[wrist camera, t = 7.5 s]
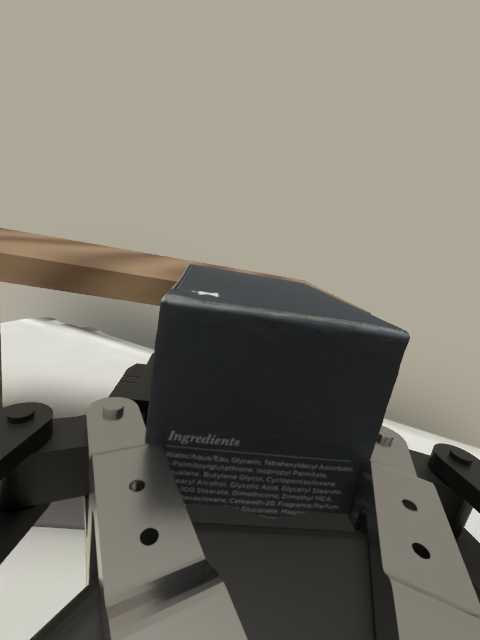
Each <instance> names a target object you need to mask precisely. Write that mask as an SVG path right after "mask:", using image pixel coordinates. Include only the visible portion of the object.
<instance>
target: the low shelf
mask: <svg viewBox="0 0 480 640" xmlns="http://www.w3.org/2000/svg"><path fill="white" fill-rule="evenodd" d="M190 264H194V265H200V266H206V267H212V268H218V269H224V270H230V271H236V272H242V273H248V274H253V275H259V276H265V277H271V278H277V279H283V280H289V281H294V282H300V283H305V284H307V285H309V286H311V287H313V288H316V289H318V290H320V291H322V292H324V293H326V294H328V295H331V296H333V297H335V298H337V299H339V300H341V301H343V302H345V303H348V304H350V305H352V306H354V307H356V308H358V309H360V310H362V311H364V312H366V313H369V312H367V311H365V310H363V309H361V308H359V307H357V306H355V305H353V304H351V303H349V302H347V301H345V300H342V299H341V298H339V297H336V296H334V295H332V294H330V293H328V292H326V291H324V290H322V289H320V288H318V287H316V286H314V285H312V284H310V283H308V282H306V281H303V280H298V279H292V278H287V277H281V276H275V275H269V274H263V273H257V272H252V271H246V270H240V269H234V268H228V267H223V266H216V265H211V264H206V263H199V262H194V261H188V260H182V259H176V258H171V257H165V256H159V255H153V254H148V253H142V252H136V251H130V250H124V249H119V248H113V247H107V246H101V245H96V244H90V243H84V242H78V241H72V240H67V239H61V238H55V237H49V236H43V235H38V234H32V233H26V232H20V231H15V230H8V229H3V228H0V281H2V282H8V283H14V284H21V285H27V286H34V287H40V288H47V289H54V290H60V291H66V292H73V293H79V294H86V295H92V296H100V297H106V298H112V299H119V300H126V301H132V302H139V303H145V304H151V305H158V306H160V304H161V299H162V298H163V297H164V296H165V295H166V294H167V293H168V292H169V291H170V290H171V289H172V288H173V287H174V285H175V284H176V283H177V282H178V280H179V279H180V278H181V276H182V275H183V273H184V272H185V270H186V266H189V265H190ZM369 314H371V313H369ZM0 409H2V373H1V335H0Z"/></svg>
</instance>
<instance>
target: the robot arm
mask: <svg viewBox="0 0 480 640" xmlns="http://www.w3.org/2000/svg"><path fill="white" fill-rule="evenodd" d="M153 359H154V353H153V354H152V355H151V357H150V359H149V361H148V363H147V365H146V364H135V365H133V366H132V367H130V368H128V369H127V370H126V372H125V373H124V375H123V377H122V378H121V379H120V381H119V382H118V384H117V385H116V387H115V388H114V390H113V391H112V393H111V394H110V396H109V397H108V398H104V399H101V400H98V401H96V402H94V403H92V404H91V405H90V406H89V407H88V408H87V411H86V415H82V416H77V417H69V418H58V419H53V411H52V409H51V407H49V406H48V405H45V404H42V403H34V402H29V403H19V404H14V405H10V406H7V407H5V408H2V409H0V564H1V563H2V562H3V561H4V559H5V558H6V557H7V556H8V555H9V554H10V552H11V551H12V550H13V549H14V548H15V546H16V545H17V544H18V543H19V542H20V540H21V539H22V538H23V537H24V536H25V534H26V533H27V532H28V531H29V530H30V529H31V527H32V526H33V525H34V524H35V523H36V521H37V520H38V519H39V518H40V517H41V515H42V514H43V513H44V512H45V511H46V509H47V508H48V507H49V505H50V504H51V502H55V501H61V500H66V499H71V498H76V497H81V496H83V498H84V521H85V543H86V587H85V588H84V589H83V590H82V591H81V592H80V593H79V594H78V595H77V596H76V597H75V598H74V599H73V600H71V601H70V602H69V603H68V604H67V605H66V606H65V607H64V608H63V609H62V610H61V611H60V612H59V613H58V614H57V615H55V616H54V617H53V618H52V619H51V620H50V621H49V622H48V623H47V624H46V625H45V626H44V627H43V628H42V629H41V630H39V631H38V632H37V633H36V634H35V635H34V636H33V637H32V638H31V639H30V640H480V543H479V542H478V541H477V540H476V539H475V538H474V537H473V536H472V535H471V534H470V533H469V532H468V531H467V530H466V529H465V528H464V526H465V524H466V522H467V520H468V517H469V515H470V513H471V511H472V509H473V508H474V509H476V510H477V511H478V512H479V513H480V460H479V459H478V458H476V457H475V456H473V455H472V454H470V453H468V452H466V451H465V450H462V449H460V448H458V447H455V446H452V445H449V444H442V443H439V444H436V445H434V448H433V450H432V453H431V455H426V454H423V453H420V452H416V451H413V450H409V449H408V446H407V443H406V441H405V440H404V439H403V438H402V437H401V436H400V435H399V434H397V433H396V432H394V431H393V430H391V429H389V428H387V427H384V426H381V429H380V432H379V435H378V438H377V441H376V444H375V447H374V450H373V453H372V456H371V457H370V458H362V461H361V464H360V467H359V470H358V486H357V492H356V496H355V499H354V502H353V505H352V509H351V512H350V515H349V517H348V515H347V514H338V513H323V512H305V513H300V514H295V515H290V516H285V517H280V518H274V519H270V518H265V517H262V516H259V515H255V514H252V513H249V512H245V511H242V510H239V509H235V508H232V507H229V506H216V505H201V504H186V507H185V504H184V502H183V499H182V496H181V494H180V491H179V489H178V486H177V484H176V481H175V478H174V476H173V473H172V471H171V468H170V466H169V463H168V460H167V458H166V455H165V453H164V450H163V447H162V445H161V443H160V442H153V443H151V441H150V440H149V439H147V438H146V437H145V433H146V425H147V413H148V406H149V398H150V388H151V376H152V370H153Z"/></svg>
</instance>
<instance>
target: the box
mask: <svg viewBox="0 0 480 640" xmlns="http://www.w3.org/2000/svg"><path fill="white" fill-rule="evenodd" d="M409 339H410V336H409V334H408V333H407V331H405V330H403V329H401V328H399V327H397V326H394V325H392V324H390V323H387V322H385V321H383V320H381V319H379V318H377V317H375V316H373V315H371V314H369V313H366V312H364V311H362V310H360V309H358V308H356V307H354V306H352V305H350V304H348V303H345V302H343V301H341V300H339V299H337V298H335V297H333V296H331V295H328V294H326V293H324V292H322V291H320V290H318V289H316V288H313V287H311V286H309V285H307V284H305V283H300V282H294V281H289V280H283V279H277V278H271V277H265V276H259V275H253V274H248V273H242V272H236V271H230V270H224V269H218V268H212V267H206V266H200V265H194V264H190V265H189V266H186V270H185V272H184V273H183V275H182V276H181V278H180V279H179V280H178V282H177V283H176V284H175V285H174V287H173V288H172V289H171V290H170V291H169V292H168V293H167V294H166V295H165V296H164V297H163V298H162V299H161V304H160V312H159V321H158V329H157V335H156V341H155V352H154V359H153V370H152V376H151V388H150V398H149V406H148V413H147V425H146V433H145V437H146V438H147V439H149V440H150V441H151V443H153V442H160V443H161V445H162V447H163V450H164V453H165V455H166V458H167V460H168V463H169V466H170V468H171V471H172V473H173V476H174V478H175V481H176V484H177V486H178V489H179V491H180V494H181V496H182V499H183V502H184V504H185V507H186V504H201V505H216V506H229V507H232V508H235V509H239V510H242V511H245V512H249V513H252V514H255V515H259V516H262V517H265V518H270V519H274V518H280V517H285V516H290V515H295V514H300V513H305V512H323V513H338V514H347V515H348V517H349V515H350V512H351V509H352V505H353V502H354V499H355V496H356V492H357V486H358V470H359V467H360V464H361V461H362V458H370V457H371V456H372V453H373V450H374V447H375V444H376V441H377V438H378V435H379V432H380V429H381V426H382V423H383V419H384V415H385V412H386V408H387V405H388V402H389V399H390V396H391V393H392V390H393V387H394V384H395V382H396V379H397V376H398V372H399V368H400V364H401V361H402V358H403V354H404V351H405V349H406V347H407V344H408V342H409Z"/></svg>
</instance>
